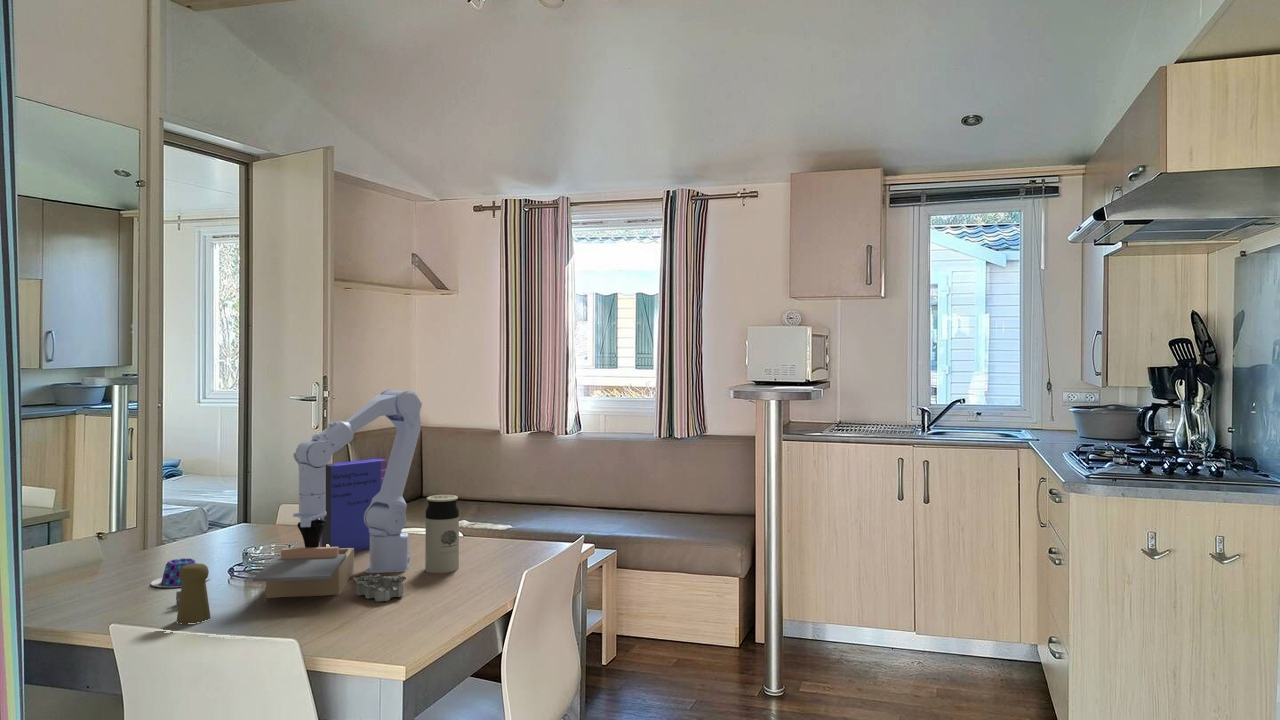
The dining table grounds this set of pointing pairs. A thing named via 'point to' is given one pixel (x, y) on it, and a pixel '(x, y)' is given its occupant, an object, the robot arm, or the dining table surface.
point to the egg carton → (380, 586)
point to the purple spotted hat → (173, 573)
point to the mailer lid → (302, 564)
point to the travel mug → (442, 534)
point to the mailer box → (315, 581)
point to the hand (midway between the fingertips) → (312, 552)
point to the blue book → (350, 502)
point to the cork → (193, 594)
